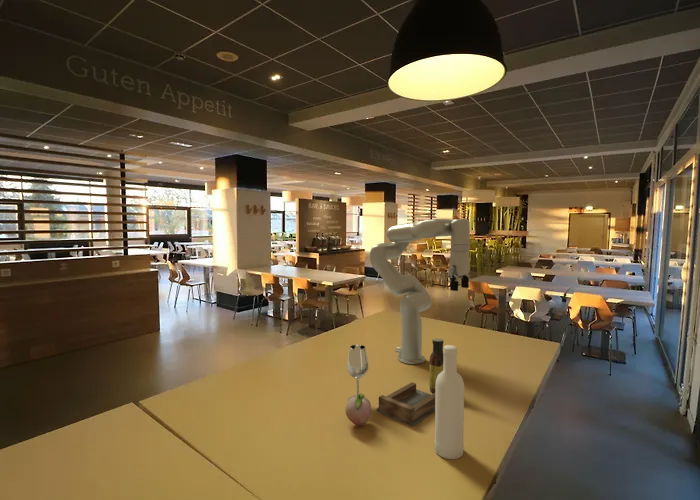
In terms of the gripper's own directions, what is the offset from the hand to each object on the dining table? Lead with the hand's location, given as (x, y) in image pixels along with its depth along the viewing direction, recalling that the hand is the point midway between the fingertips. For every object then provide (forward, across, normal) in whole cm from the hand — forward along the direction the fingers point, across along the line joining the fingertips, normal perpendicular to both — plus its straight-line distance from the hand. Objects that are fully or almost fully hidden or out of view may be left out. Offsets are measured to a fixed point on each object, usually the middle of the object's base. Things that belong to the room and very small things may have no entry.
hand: (459, 289), depth 157 cm
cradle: (+37, +38, +1) cm, 53 cm away
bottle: (+37, +53, +23) cm, 69 cm away
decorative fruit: (+37, +60, -5) cm, 70 cm away
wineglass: (+37, +48, -16) cm, 62 cm away
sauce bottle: (+37, +21, +2) cm, 42 cm away
